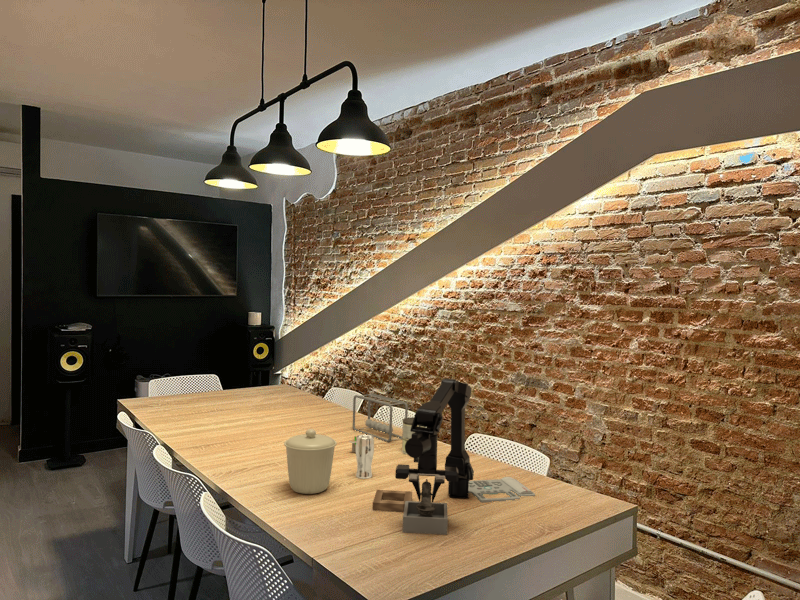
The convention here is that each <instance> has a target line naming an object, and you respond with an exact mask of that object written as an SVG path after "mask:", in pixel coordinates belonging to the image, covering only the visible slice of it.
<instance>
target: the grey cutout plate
mask: <svg viewBox="0 0 800 600" xmlns="http://www.w3.org/2000/svg"><path fill="white" fill-rule="evenodd" d="M511 491H512V492H511ZM513 492H514V493H513ZM469 493H472V494H473V495H472V494H471V495H472V496H474V497H475V496H476V497H477V498H478V499H477V498H476V497H475V498H476V499H477V500H478V501H479V502H480V503H494V501H499V502H507V501H506V500H512V501H516V500H515V499H521V498H522V497H521V496H533V497H535V496H536V493H535V492H534V491H532V490H531V489H529V488H528V487H527V486H525V485H524V484H523V483H521V481H519V480H518V479H517V478H513V477H511V476H504V477H502V478H499V479H478V480H470V481H469V488H468V494H469ZM498 493H503V494H505V493H506V494H505V495H507V496H508V495H509V496H510V497H509V496H508V497H491V498H489V497H486V496H485V495H483V494H489V495H499V494H498ZM515 493H516V494H517V495H518V496H517V495H516V494H515ZM519 496H520V497H519ZM492 501H493V502H492Z"/></svg>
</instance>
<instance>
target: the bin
mask: <svg viewBox="0 0 800 600" xmlns="http://www.w3.org/2000/svg"><path fill="white" fill-rule="evenodd" d="M420 503H421V501H416V500H415V501H414V500H412V501H405V507H404V512H402V513H403V514H402V533H407V534H408V533H410V534H411V533H412V534H425V535H427V534H428V535H442V536H443V535H444V536H445V535H446V536H448V524H449V523H448V522H449V520H448V519H449V518H448V516H449V515H448V503H447V502H434V501H433V502H432V501H431V503H432V504H433V505H435V507H436V508H435V509H434V513H433V514H432V516H433V517H419V515H420V514H419V513H418V511H417V508H416V505H417V504H420Z"/></svg>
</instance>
